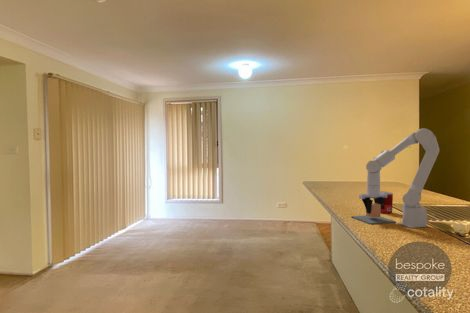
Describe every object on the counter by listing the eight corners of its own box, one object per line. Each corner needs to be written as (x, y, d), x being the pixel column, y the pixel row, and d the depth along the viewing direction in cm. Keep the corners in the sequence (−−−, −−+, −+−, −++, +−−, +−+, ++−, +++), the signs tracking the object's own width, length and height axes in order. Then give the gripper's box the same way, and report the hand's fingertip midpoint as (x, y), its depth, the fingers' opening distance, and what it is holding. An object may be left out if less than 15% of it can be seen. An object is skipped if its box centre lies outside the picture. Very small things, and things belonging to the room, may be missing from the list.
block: (373, 214, 148) (374, 202, 148) (380, 216, 144) (380, 204, 144) (366, 215, 147) (366, 203, 147) (372, 217, 143) (372, 205, 143)
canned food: (393, 211, 164) (393, 192, 164) (391, 214, 158) (392, 194, 157) (377, 210, 168) (378, 190, 168) (375, 212, 162) (376, 192, 161)
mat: (375, 215, 154) (375, 214, 154) (395, 222, 141) (395, 221, 141) (351, 217, 151) (351, 216, 151) (370, 224, 137) (370, 223, 137)
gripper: (380, 183, 151) (379, 210, 151) (355, 184, 147) (354, 211, 148) (390, 185, 144) (390, 213, 145) (364, 186, 141) (364, 215, 141)
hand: (373, 212), depth 146 cm, fingers closed on block, 4 cm apart
